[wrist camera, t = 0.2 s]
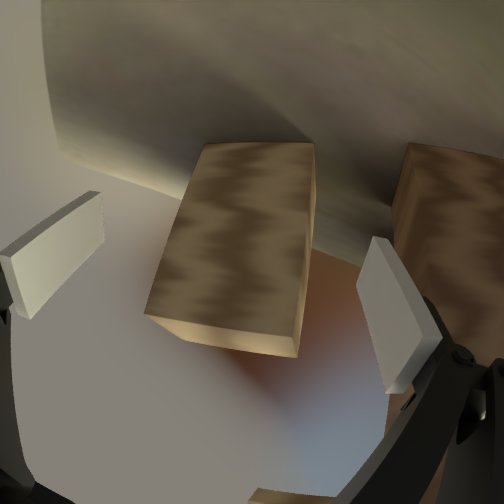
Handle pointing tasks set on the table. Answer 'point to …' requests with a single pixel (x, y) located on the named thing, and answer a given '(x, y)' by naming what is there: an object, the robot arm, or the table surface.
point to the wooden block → (286, 498)
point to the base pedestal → (240, 249)
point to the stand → (453, 251)
